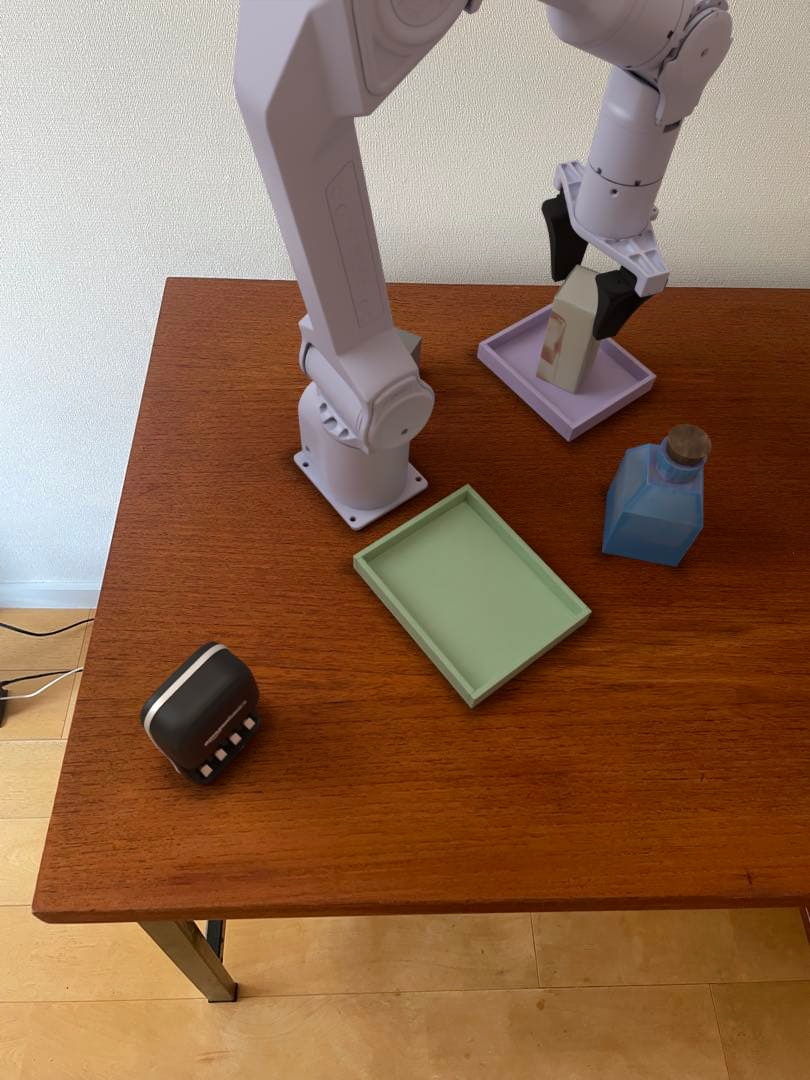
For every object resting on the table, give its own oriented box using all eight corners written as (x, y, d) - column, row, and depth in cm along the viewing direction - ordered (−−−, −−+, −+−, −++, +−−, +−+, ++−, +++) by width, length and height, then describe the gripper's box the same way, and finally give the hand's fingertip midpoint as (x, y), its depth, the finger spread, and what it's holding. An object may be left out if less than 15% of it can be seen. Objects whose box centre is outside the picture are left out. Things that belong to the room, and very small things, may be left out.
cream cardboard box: (555, 344, 79) (578, 261, 70) (595, 362, 78) (624, 280, 69) (531, 377, 76) (552, 295, 68) (573, 396, 75) (600, 315, 67)
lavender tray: (476, 357, 78) (479, 342, 76) (558, 311, 82) (562, 297, 80) (568, 442, 73) (573, 429, 71) (650, 389, 77) (657, 375, 75)
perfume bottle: (676, 566, 67) (733, 482, 56) (602, 552, 67) (645, 466, 57) (677, 506, 70) (731, 417, 60) (607, 493, 70) (648, 401, 60)
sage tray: (353, 567, 65) (352, 555, 64) (465, 496, 69) (467, 483, 68) (471, 709, 59) (474, 700, 58) (586, 621, 64) (592, 611, 62)
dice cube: (395, 411, 74) (397, 373, 70) (348, 391, 75) (347, 353, 71) (418, 375, 76) (422, 337, 72) (372, 357, 77) (372, 318, 73)
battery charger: (208, 802, 55) (174, 753, 45) (169, 768, 56) (128, 713, 46) (277, 725, 58) (260, 664, 48) (239, 694, 59) (214, 628, 49)
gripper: (728, 211, 56) (665, 351, 68) (624, 100, 63) (583, 244, 74) (641, 232, 54) (592, 372, 66) (544, 115, 61) (516, 260, 73)
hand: (583, 305), depth 70 cm, fingers open, 7 cm apart
